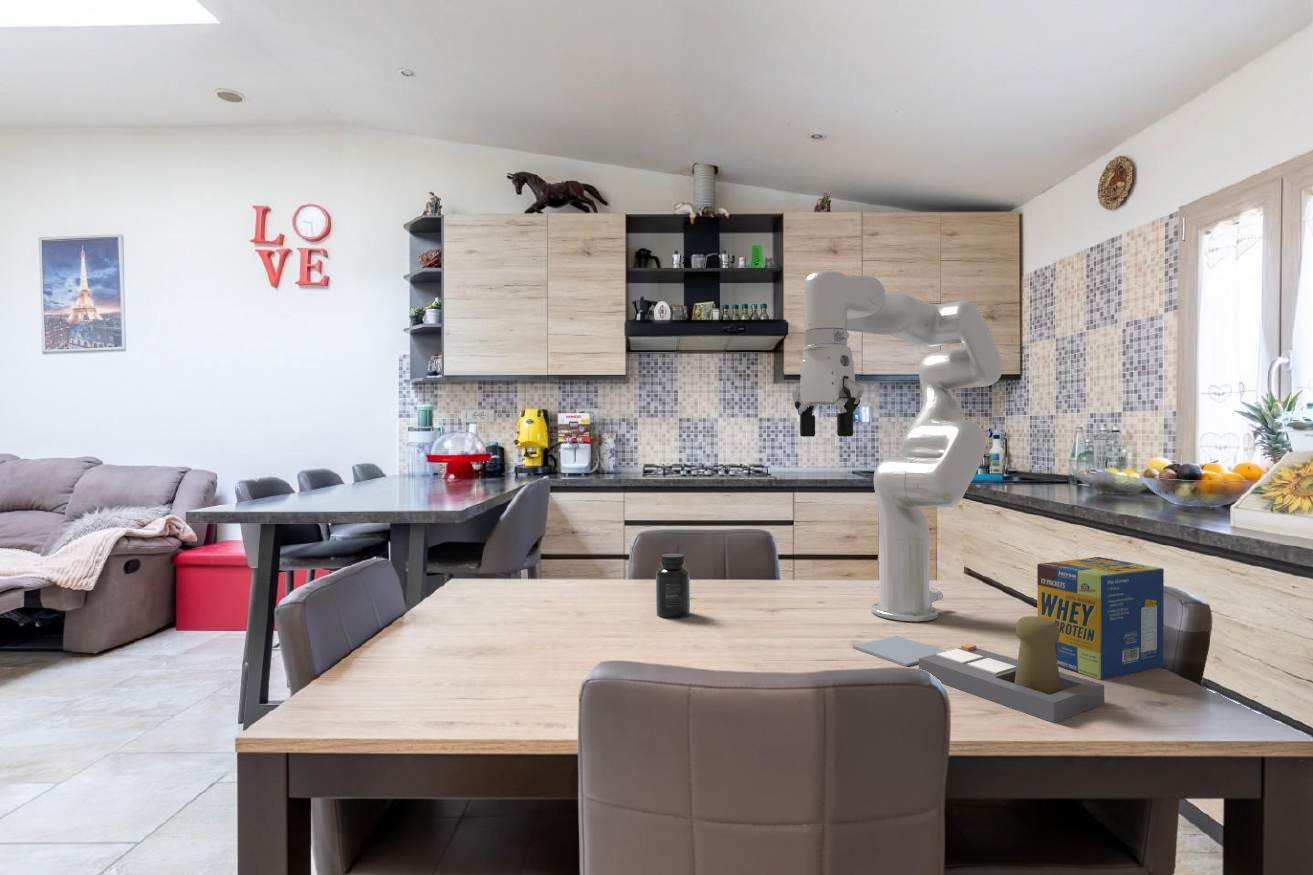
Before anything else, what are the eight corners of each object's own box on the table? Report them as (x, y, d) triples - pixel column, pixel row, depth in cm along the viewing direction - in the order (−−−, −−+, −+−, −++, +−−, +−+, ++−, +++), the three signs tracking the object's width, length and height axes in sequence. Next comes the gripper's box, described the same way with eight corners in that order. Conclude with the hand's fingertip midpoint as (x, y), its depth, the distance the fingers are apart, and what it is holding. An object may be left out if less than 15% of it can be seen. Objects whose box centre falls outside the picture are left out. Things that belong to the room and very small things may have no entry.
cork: (1003, 691, 95) (1003, 613, 95) (1044, 690, 96) (1044, 611, 96) (1030, 708, 89) (1030, 624, 89) (1074, 706, 90) (1073, 623, 90)
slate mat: (897, 638, 121) (897, 635, 121) (951, 654, 111) (951, 652, 111) (853, 647, 115) (853, 645, 115) (906, 666, 106) (906, 663, 106)
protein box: (1035, 659, 109) (1035, 563, 109) (1099, 647, 115) (1098, 556, 115) (1100, 681, 99) (1100, 575, 99) (1166, 666, 105) (1165, 566, 105)
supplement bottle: (696, 613, 139) (695, 554, 139) (679, 620, 133) (678, 559, 133) (667, 608, 142) (667, 551, 142) (649, 615, 137) (649, 556, 137)
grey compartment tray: (969, 661, 108) (969, 642, 108) (1104, 703, 91) (1104, 680, 91) (918, 674, 102) (918, 654, 102) (1053, 722, 85) (1053, 698, 85)
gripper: (877, 336, 117) (877, 436, 117) (809, 348, 132) (809, 436, 132) (844, 333, 114) (844, 436, 114) (778, 346, 129) (778, 436, 129)
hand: (825, 436), depth 123 cm, fingers open, 9 cm apart
